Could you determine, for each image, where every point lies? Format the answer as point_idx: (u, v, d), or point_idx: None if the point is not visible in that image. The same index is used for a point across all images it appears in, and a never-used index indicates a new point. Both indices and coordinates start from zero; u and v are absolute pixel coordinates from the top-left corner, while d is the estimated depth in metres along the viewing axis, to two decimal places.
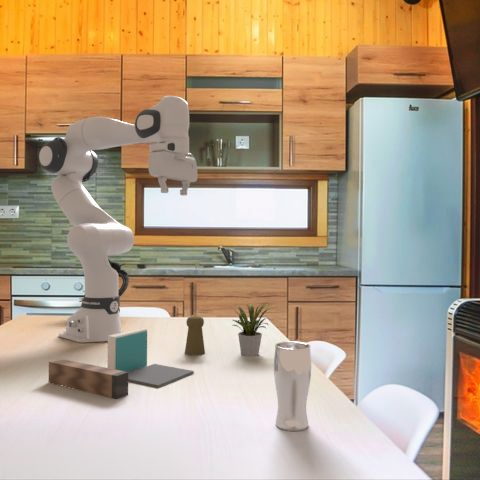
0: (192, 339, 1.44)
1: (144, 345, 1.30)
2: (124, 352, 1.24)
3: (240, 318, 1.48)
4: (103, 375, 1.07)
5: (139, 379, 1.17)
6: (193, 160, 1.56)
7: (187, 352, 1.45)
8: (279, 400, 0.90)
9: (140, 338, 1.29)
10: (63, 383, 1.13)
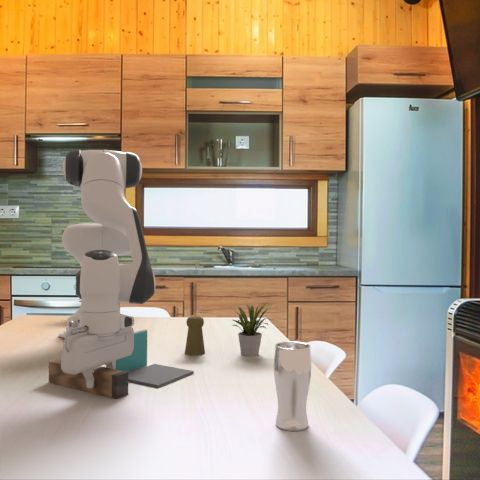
0: (192, 339, 1.44)
1: (144, 345, 1.30)
2: None
3: (240, 318, 1.48)
4: (103, 374, 1.07)
5: (139, 379, 1.17)
6: None
7: (187, 352, 1.45)
8: (279, 400, 0.90)
9: (140, 338, 1.29)
10: (63, 383, 1.13)
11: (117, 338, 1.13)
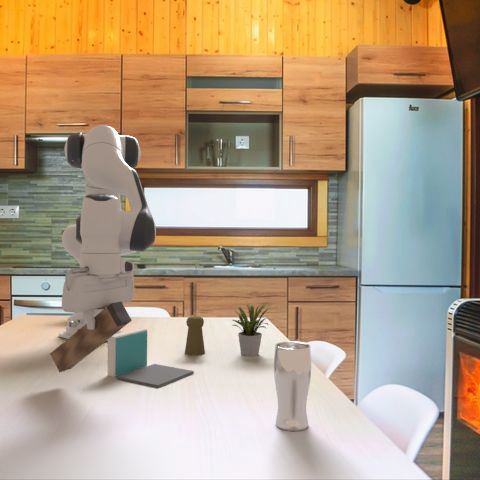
0: (192, 339, 1.44)
1: (144, 345, 1.30)
2: (124, 352, 1.24)
3: (240, 318, 1.48)
4: (100, 314, 1.08)
5: (139, 379, 1.17)
6: None
7: (187, 352, 1.45)
8: (279, 400, 0.90)
9: (140, 338, 1.29)
10: (72, 358, 1.11)
11: (117, 282, 1.13)
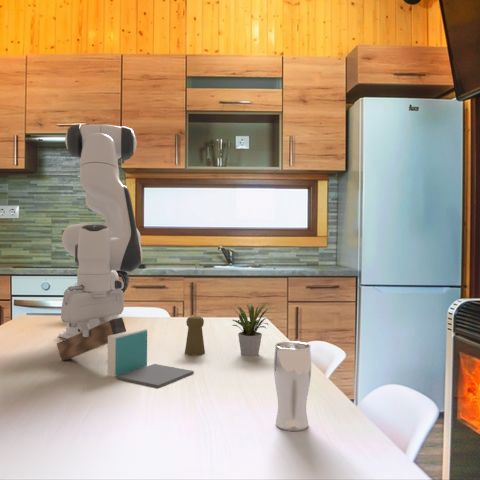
0: (192, 339, 1.44)
1: (144, 345, 1.30)
2: (124, 352, 1.23)
3: (240, 318, 1.48)
4: (102, 325, 1.29)
5: (139, 379, 1.17)
6: None
7: (187, 352, 1.45)
8: (279, 400, 0.90)
9: (140, 338, 1.29)
10: (73, 353, 1.34)
11: (109, 298, 1.36)
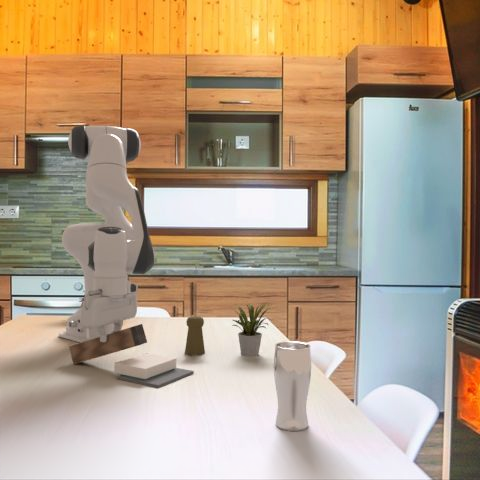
0: (192, 339, 1.44)
1: None
2: None
3: (240, 318, 1.48)
4: (122, 331, 1.26)
5: (139, 379, 1.17)
6: None
7: (187, 352, 1.45)
8: (279, 400, 0.90)
9: None
10: (87, 357, 1.30)
11: (124, 302, 1.33)
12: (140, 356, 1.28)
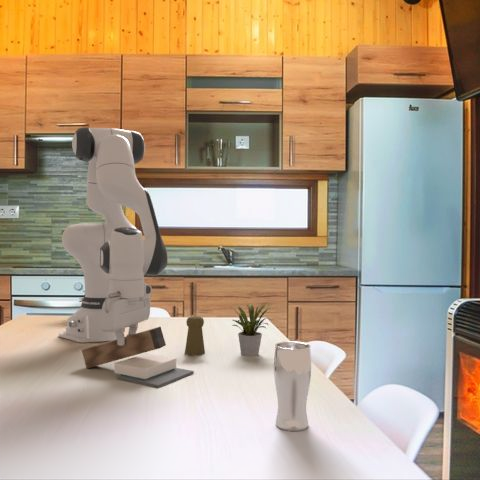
0: (192, 339, 1.44)
1: None
2: None
3: (240, 318, 1.48)
4: (141, 334, 1.24)
5: (139, 379, 1.17)
6: None
7: (187, 352, 1.45)
8: (279, 400, 0.90)
9: None
10: (102, 361, 1.27)
11: (139, 304, 1.31)
12: (140, 356, 1.28)
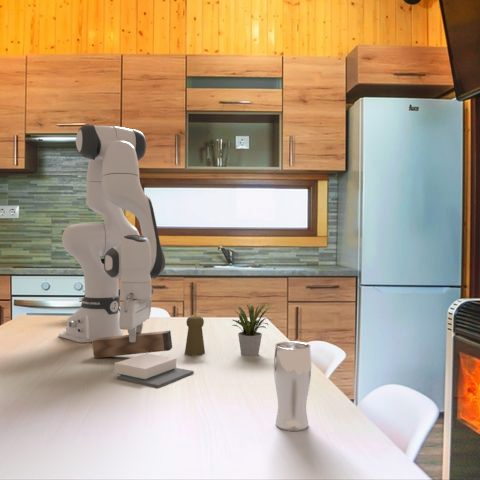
0: (192, 339, 1.44)
1: None
2: None
3: (240, 318, 1.48)
4: (153, 335, 1.38)
5: (139, 379, 1.17)
6: None
7: (187, 352, 1.45)
8: (279, 400, 0.90)
9: None
10: (111, 354, 1.39)
11: (144, 304, 1.44)
12: (140, 356, 1.28)
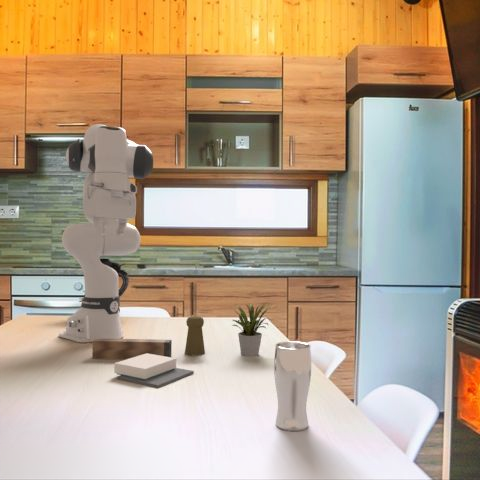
0: (192, 339, 1.44)
1: None
2: None
3: (240, 318, 1.48)
4: (155, 343, 1.38)
5: (139, 379, 1.17)
6: None
7: (187, 352, 1.45)
8: (279, 400, 0.90)
9: None
10: (110, 356, 1.39)
11: (124, 201, 1.38)
12: (140, 356, 1.28)
